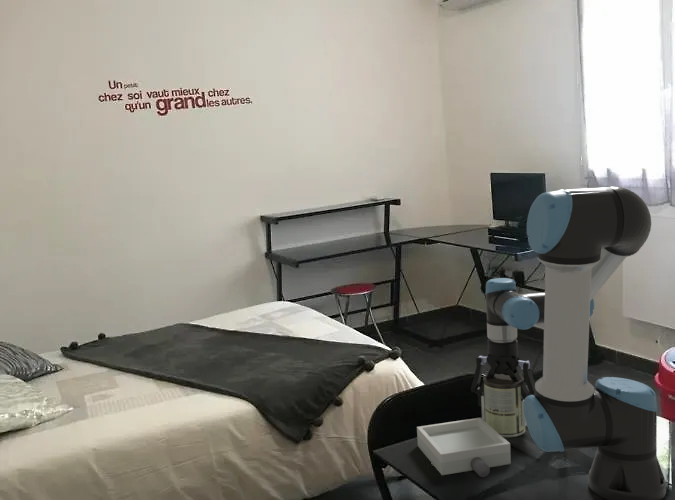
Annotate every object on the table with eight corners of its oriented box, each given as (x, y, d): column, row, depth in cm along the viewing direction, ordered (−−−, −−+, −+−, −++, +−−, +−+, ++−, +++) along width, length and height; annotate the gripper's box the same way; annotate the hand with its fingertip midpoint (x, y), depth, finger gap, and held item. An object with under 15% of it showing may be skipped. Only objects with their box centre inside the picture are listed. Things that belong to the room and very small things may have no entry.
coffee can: (482, 422, 187) (481, 372, 185) (522, 421, 186) (520, 370, 184) (487, 438, 177) (485, 385, 175) (528, 437, 176) (527, 383, 174)
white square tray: (518, 471, 158) (518, 450, 157) (448, 483, 155) (447, 461, 154) (480, 436, 178) (480, 417, 178) (417, 445, 175) (416, 426, 174)
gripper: (550, 338, 175) (552, 423, 178) (466, 331, 187) (469, 410, 190) (542, 346, 169) (544, 433, 172) (455, 338, 181) (458, 419, 184)
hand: (504, 421), depth 181 cm, fingers closed on coffee can, 10 cm apart
